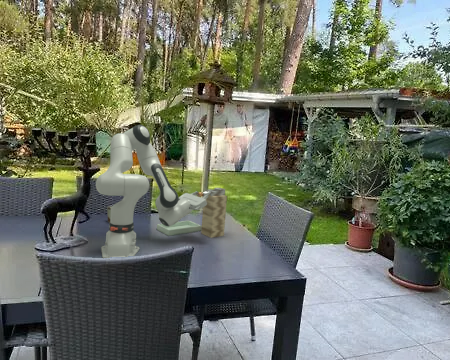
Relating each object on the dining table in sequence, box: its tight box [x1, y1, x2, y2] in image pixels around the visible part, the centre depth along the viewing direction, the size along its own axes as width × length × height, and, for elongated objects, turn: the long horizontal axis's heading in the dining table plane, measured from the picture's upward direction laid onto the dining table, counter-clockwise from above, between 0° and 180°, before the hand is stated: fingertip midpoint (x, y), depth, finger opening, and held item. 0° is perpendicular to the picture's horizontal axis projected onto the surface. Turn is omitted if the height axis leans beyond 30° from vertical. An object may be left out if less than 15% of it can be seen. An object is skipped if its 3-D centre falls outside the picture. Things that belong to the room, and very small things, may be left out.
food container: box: [106, 205, 113, 223], centre depth 234 cm, size 12×6×10 cm, turn 47°
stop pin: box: [196, 190, 218, 198], centre depth 220 cm, size 18×2×2 cm, turn 130°
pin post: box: [200, 187, 228, 239], centre depth 225 cm, size 10×10×29 cm
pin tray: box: [156, 220, 202, 237], centre depth 229 cm, size 24×14×4 cm, turn 130°
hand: (202, 193), depth 217 cm, fingers open, 8 cm apart
